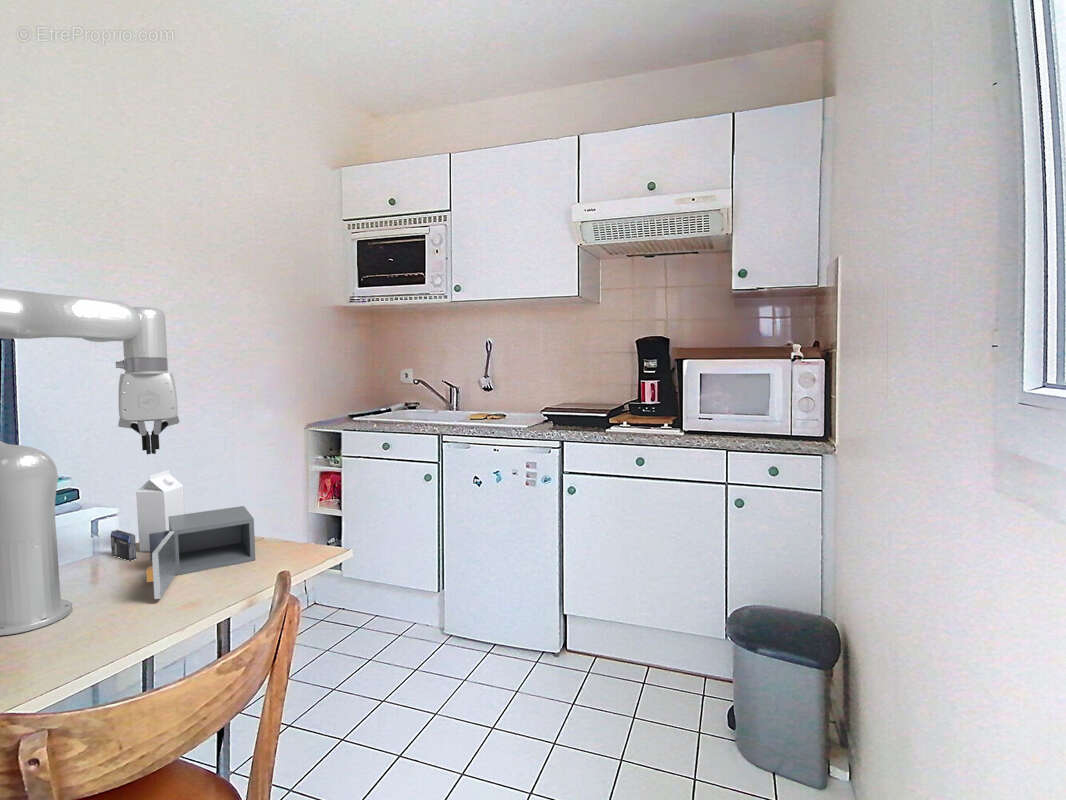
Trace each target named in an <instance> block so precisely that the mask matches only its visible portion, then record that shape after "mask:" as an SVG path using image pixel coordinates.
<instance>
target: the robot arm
mask: <svg viewBox="0 0 1066 800" xmlns="http://www.w3.org/2000/svg"><path fill="white" fill-rule="evenodd" d="M166 327H167V325H166V315H165V313H164V311H163V310H162V309H160V308H156V307H146V306H145V307H144V306H131V305H129V304H128V303H125V302H122V301H117V300H112V299H111V300H109V299H101V298H95V297H94V298H92V297H83V296H75V295H74V296H73V295H64V294H53V293H51V294H50V293H42V292H35V291H27V290H16V289H7V288H0V339H12V340H13V339H14V340H15V339H18V340H19V339H21V340H23V339H25V340H27V339H28V340H29V339H31V340H32V339H42V338H43V339H44V338H45V339H47V338H75V339H83V340H85V341H89V342H94V343H108V342H122V343H123V344H122V347H123V358H124V359H123V360H120V361H115V368H116V369H122V370H124V373H120V375H119V379H118V416H119V419H118V425H117V427H119V428H124V429H133V431H134V432H136V433H137V434H139V435H140V436H141V446H142V447H141V448H142V449H141V450H142V451H146V455H151V454H153V455H156V454H157V451H156V450H160V436H159V435H160V434H161V433H162V432H163V431H164V430H166V428H167V427H171V426H174V425H178V424H179V423H180V418H179V416H178V414H179V413H178V412H179V411H178V396H177V389H176V382H175V378H174V375H173V373H172V372H169V366H168V364H169V363H168V346H167V329H166ZM145 422H153V428H152V430H151V434H149V431H148V430H147V427H146V424H145ZM58 474H59V473H58V469H57V466H56V464H55V461H53V459H52V458H51V457H50V456H49V455H48V454H47V453H45V452H44V451H42V450H40V449H38V448H35V447H31V446H26V445H18V444H10V443H6V442H3V441H1V440H0V636H8V635H15V634H20V633H24V632H29V631H32V630H37V629H39V628H43V627H45V626H48V625H51V624H54V623H56V622H59V621H60V620H62V619H64V618H65V617H67V616H69V615H70V614H71V612H72V611H73V603H72V602H71V601H70V600H68V599H62V598H61V597H62V596H61V584H60V581H61V580H60V571H59V570H60V568H59V553H58V540H57V539H58V538H57V536H58V535H57V527H56V523H57V522H56V495H57V489H58V481H59V477H58Z"/></svg>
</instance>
